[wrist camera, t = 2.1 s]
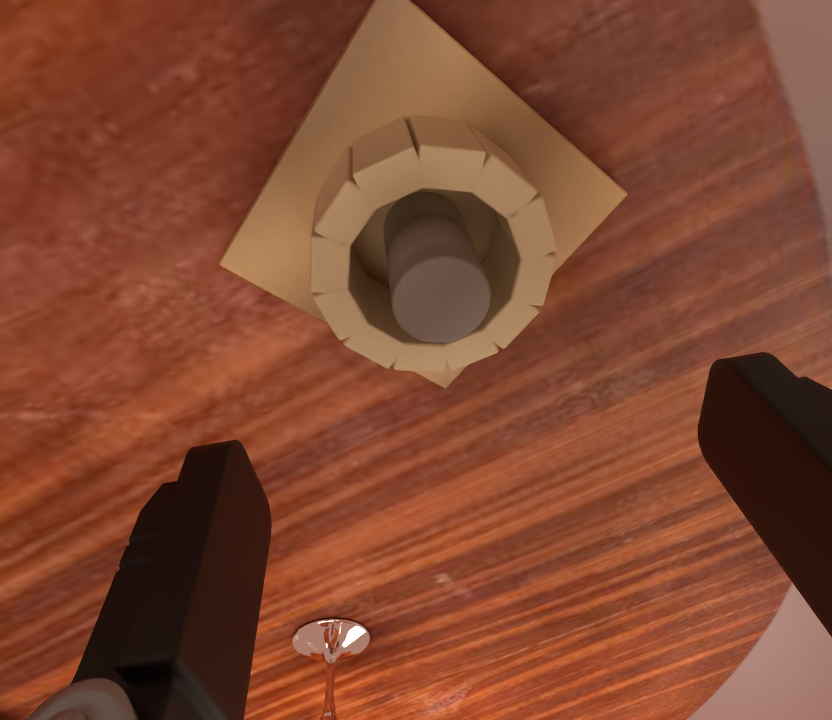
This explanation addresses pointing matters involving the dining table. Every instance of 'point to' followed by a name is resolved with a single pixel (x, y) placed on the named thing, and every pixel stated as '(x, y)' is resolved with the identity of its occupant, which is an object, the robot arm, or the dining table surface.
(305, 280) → the peg stand
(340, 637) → the wineglass
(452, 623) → the dining table surface
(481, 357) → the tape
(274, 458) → the dining table surface
